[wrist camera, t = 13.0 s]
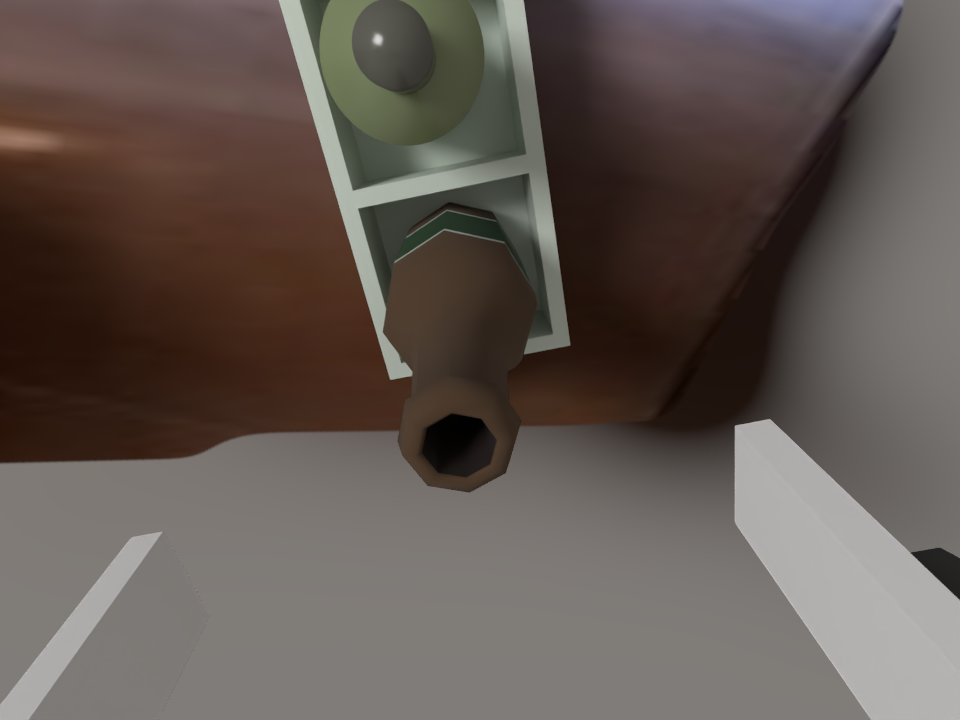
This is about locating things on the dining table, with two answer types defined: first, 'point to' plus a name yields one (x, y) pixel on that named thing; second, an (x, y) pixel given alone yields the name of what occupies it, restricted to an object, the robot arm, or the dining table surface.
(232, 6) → the dining table surface
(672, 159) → the dining table surface
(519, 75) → the caddy
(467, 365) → the beer bottle
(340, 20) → the olive bottle
